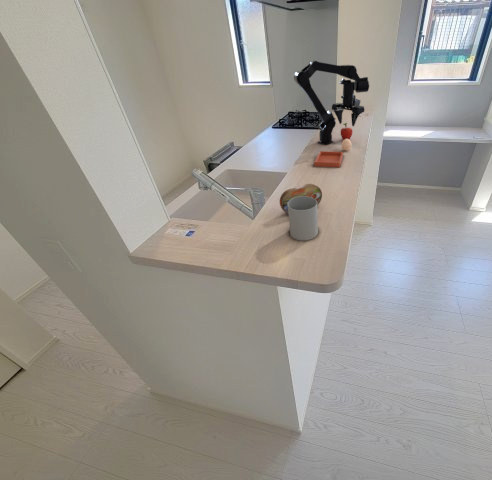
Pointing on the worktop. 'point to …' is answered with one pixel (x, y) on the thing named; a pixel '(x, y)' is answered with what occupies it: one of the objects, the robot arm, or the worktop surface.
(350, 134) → the apple
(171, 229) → the worktop surface
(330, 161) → the tray
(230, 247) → the worktop surface
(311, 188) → the tin
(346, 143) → the egg
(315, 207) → the cup
